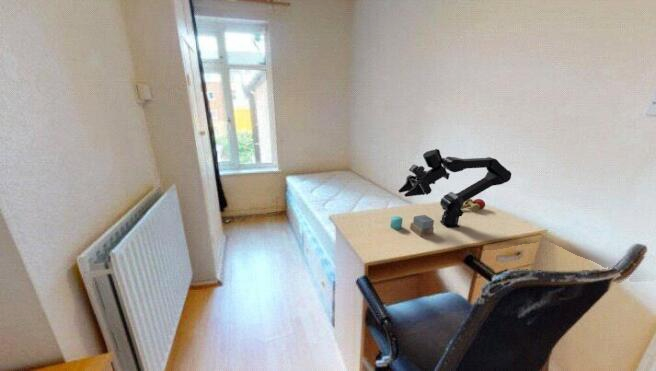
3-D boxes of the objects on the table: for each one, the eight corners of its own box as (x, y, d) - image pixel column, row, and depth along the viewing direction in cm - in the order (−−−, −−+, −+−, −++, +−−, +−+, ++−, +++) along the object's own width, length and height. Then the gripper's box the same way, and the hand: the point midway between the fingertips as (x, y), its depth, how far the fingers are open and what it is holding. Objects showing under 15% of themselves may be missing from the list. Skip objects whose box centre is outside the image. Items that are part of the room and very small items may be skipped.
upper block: (423, 221, 118) (424, 214, 116) (432, 227, 112) (434, 220, 111) (413, 223, 116) (414, 216, 115) (421, 229, 110) (422, 222, 109)
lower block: (422, 227, 119) (423, 220, 118) (432, 234, 113) (433, 227, 112) (409, 229, 117) (410, 222, 116) (419, 237, 111) (420, 230, 110)
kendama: (458, 216, 134) (489, 210, 136) (458, 205, 133) (488, 198, 135) (449, 212, 142) (478, 206, 144) (449, 201, 141) (478, 196, 143)
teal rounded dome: (399, 224, 121) (400, 215, 120) (403, 229, 117) (404, 220, 115) (389, 224, 121) (389, 216, 120) (392, 229, 116) (393, 221, 115)
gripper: (416, 159, 121) (387, 176, 122) (432, 161, 103) (398, 181, 104) (427, 178, 123) (399, 195, 124) (445, 184, 104) (411, 204, 105)
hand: (401, 193), depth 114 cm, fingers open, 9 cm apart
